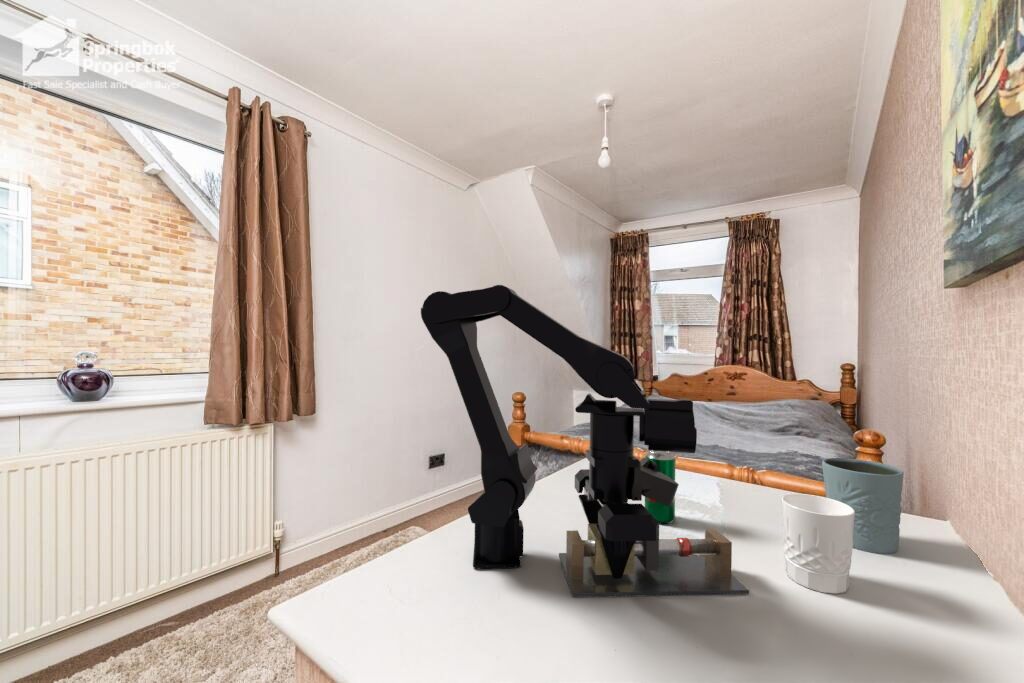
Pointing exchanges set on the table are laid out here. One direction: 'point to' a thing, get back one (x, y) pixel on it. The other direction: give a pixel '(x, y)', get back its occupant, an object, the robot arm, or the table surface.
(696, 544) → the pipe rig
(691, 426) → the robot arm
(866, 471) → the drinking glass
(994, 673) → the table surface
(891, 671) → the table surface
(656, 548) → the dark grey square collar
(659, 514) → the soda can
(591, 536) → the sleeve
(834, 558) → the white cup
